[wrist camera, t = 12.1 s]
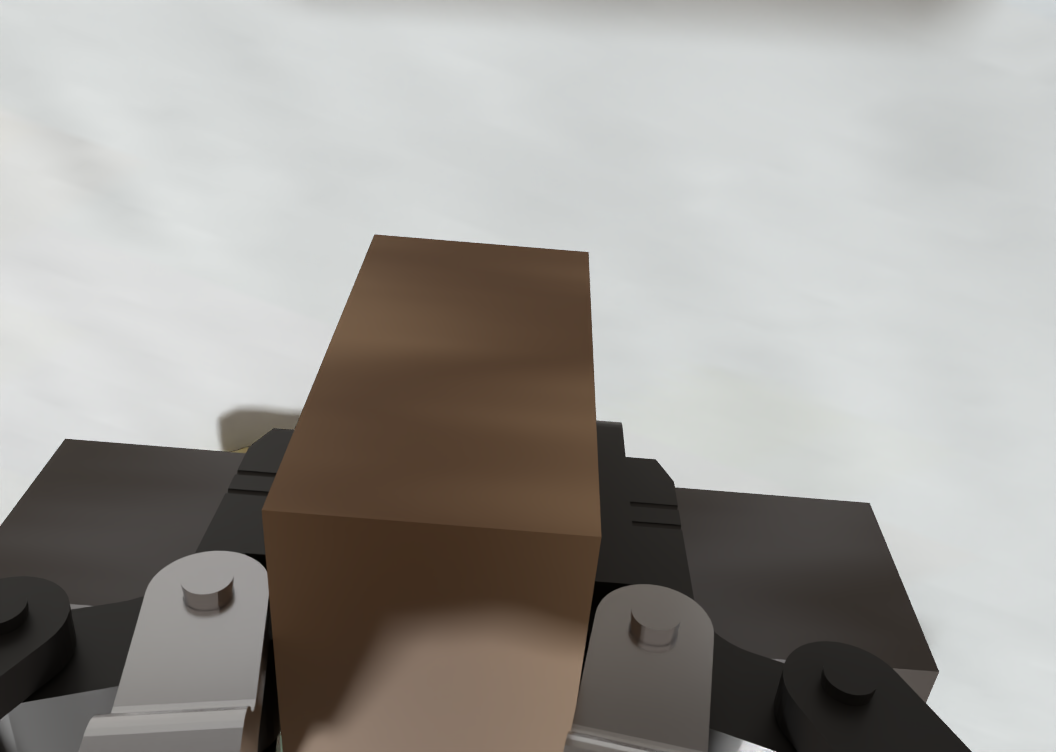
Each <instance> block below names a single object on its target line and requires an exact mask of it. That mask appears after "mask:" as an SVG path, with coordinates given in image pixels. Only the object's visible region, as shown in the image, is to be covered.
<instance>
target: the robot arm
mask: <svg viewBox="0 0 1056 752" xmlns="http://www.w3.org/2000/svg"><path fill="white" fill-rule="evenodd" d="M596 429H597V451H598V473H599V495H600V517H601V543H600V550H599V557H598V563H597V570H596V577H595V583H594V590H593V597H592V603H591V610H590V617H589V623H588V630H587V637H586V644H585V650H584V657H583V664H582V670H581V677H580V684H579V690H578V697H577V704H576V709H575V713H574V718H573V723H572V727H571V731H568V734H567V738H566V742H565V746H564V751H563V752H971V750H970V749H969V748H968V747H967V746H966V745H965V744H964V743H963V742H962V741H961V740H960V739H959V738H958V737H957V736H956V735H955V734H954V733H953V731H952V730H951V729H950V728H949V727H948V726H947V725H946V724H945V723H944V722H943V721H942V720H941V719H940V718H939V717H938V716H937V715H936V714H935V712H934V711H933V710H932V709H931V708H930V707H929V706H928V705H927V704H926V703H925V702H924V701H923V700H922V699H921V698H920V697H919V696H918V695H917V693H916V692H915V691H914V690H913V689H912V688H911V687H910V686H909V685H908V684H907V683H906V682H905V681H904V680H903V679H902V678H901V677H900V676H899V674H898V673H897V672H896V671H895V670H893V669H892V668H891V667H890V666H889V665H888V664H887V663H885V662H884V661H883V660H881V659H880V658H878V657H877V656H875V655H873V654H871V653H870V652H867V651H865V650H863V649H861V648H858V647H855V646H852V645H849V644H845V643H840V642H831V641H818V642H812V643H808V644H805V645H802V646H800V647H798V648H797V649H795V650H794V651H793V652H792V653H791V654H790V655H789V656H788V657H787V659H786V661H785V663H782V662H779V661H776V660H773V659H770V658H767V657H764V656H761V655H758V654H755V653H752V652H749V651H746V650H744V649H741V648H739V647H737V646H735V645H733V644H731V643H729V642H728V641H726V640H725V639H723V638H722V637H720V636H719V635H718V634H717V633H715V632H714V628H713V625H712V622H711V620H710V618H709V616H708V615H707V613H706V612H705V611H704V610H703V608H702V607H701V606H700V605H698V604H697V603H696V602H695V601H694V596H693V590H692V584H691V578H690V573H689V567H688V561H687V555H686V549H685V544H684V538H683V532H682V530H681V521H680V515H679V510H678V503H677V497H676V492H675V486H674V481H673V480H672V479H671V478H670V476H669V475H668V474H667V473H666V471H665V470H664V469H663V468H662V467H661V465H660V464H659V463H658V462H657V461H656V459H644V458H632V457H625V447H624V438H623V428H622V423H620V422H608V421H596ZM293 432H294V430H288V429H275V428H274V429H272V430H271V431H270V432H268V433H267V434H266V435H264V436H263V437H262V438H260V439H259V440H258V441H256V442H255V443H254V444H252V445H251V446H250V447H249V448H248V450H247V452H246V454H245V456H244V458H243V460H242V462H241V464H240V466H239V468H238V470H237V474H235V475H234V477H233V479H232V481H231V483H230V485H229V487H228V493H225V495H224V497H223V499H222V501H221V503H220V505H219V507H218V509H217V511H216V513H215V515H214V517H213V519H212V521H211V523H210V525H209V527H208V529H207V530H206V532H205V534H204V536H203V538H202V540H201V542H200V544H199V546H198V548H197V550H196V552H195V554H192V555H189V556H186V557H183V558H181V559H178V560H176V561H174V562H173V563H171V564H169V565H167V566H166V567H165V568H163V569H162V570H161V571H159V572H158V573H157V574H156V575H155V576H154V577H153V579H152V580H151V582H150V583H149V585H148V587H147V590H146V592H145V596H142V597H139V598H135V599H132V600H128V601H122V602H117V603H111V604H104V605H97V606H90V607H84V608H77V609H71V607H70V602H69V598H68V596H67V594H66V592H65V591H64V590H63V589H62V588H61V587H60V586H59V585H57V584H55V583H54V582H52V581H49V580H46V579H43V578H38V577H29V576H17V577H7V578H1V579H0V752H280V751H281V747H280V731H281V726H280V715H279V703H278V692H277V681H276V669H275V658H274V646H273V635H272V623H271V612H270V601H269V589H268V578H267V566H266V555H265V544H264V532H263V521H262V508H263V505H264V503H265V501H266V498H267V496H268V493H269V491H270V488H271V486H272V483H273V481H274V479H275V476H276V474H277V471H278V469H279V466H280V464H281V461H282V459H283V457H284V454H285V452H286V449H287V447H288V444H289V442H290V440H291V437H292V435H293Z"/></svg>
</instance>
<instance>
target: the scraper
mask: <svg viewBox="0 0 1056 752" xmlns="http://www.w3.org/2000/svg"><path fill="white" fill-rule="evenodd" d="M245 454H246V453H236V452H223V451H211V450H198V449H186V448H173V447H161V446H148V445H136V444H123V443H111V442H98V441H86V440H73V439H65V440H64V441H63V443H62V444H61V445H60V447H59V448H58V449H57V451H56V452H55V453H54V455H53V456H52V457H51V459H50V460H49V461H48V463H47V464H46V465H45V467H44V468H43V469H42V471H41V472H40V474H39V475H38V476H37V478H36V479H35V480H34V482H33V483H32V484H31V486H30V487H29V488H28V490H27V491H26V492H25V494H24V495H23V496H22V498H21V499H20V500H19V502H18V503H17V504H16V506H15V507H14V508H13V510H12V511H11V512H10V514H9V515H8V516H7V518H6V519H5V520H4V522H3V523H2V524H1V526H0V579H1V578H7V577H17V576H29V577H38V578H43V579H46V580H49V581H52V582H54V583H55V584H57V585H59V586H60V587H61V588H62V589H63V590H64V591H65V592H66V594H67V596H68V598H69V602H70V607H71V609H77V608H84V607H90V606H97V605H104V604H111V603H117V602H122V601H128V600H132V599H135V598H139V597H142V596H145V592H146V590H147V587H148V585H149V583H150V582H151V580H152V579H153V577H154V576H155V575H156V574H157V573H158V572H159V571H161V570H162V569H163V568H165V567H166V566H167V565H169V564H171V563H173V562H174V561H176V560H178V559H181V558H183V557H186V556H189V555H192V554H195V552H196V550H197V548H198V546H199V544H200V542H201V540H202V538H203V536H204V534H205V532H206V530H207V529H208V527H209V525H210V523H211V521H212V519H213V517H214V515H215V513H216V511H217V509H218V507H219V505H220V503H221V501H222V499H223V497H224V495H225V493H228V487H229V485H230V483H231V481H232V479H233V477H234V475H235V474H237V470H238V468H239V466H240V464H241V462H242V460H243V458H244V456H245ZM675 492H676V497H677V503H678V510H679V515H680V521H681V530H682V532H683V538H684V544H685V549H686V555H687V561H688V567H689V573H690V578H691V584H692V590H693V596H694V601H695V602H696V603H697V604H698V605H700V606H701V607H702V608H703V610H704V611H705V612H706V613H707V615H708V616H709V618H710V620H711V622H712V625H713V628H714V632H715V633H717V634H718V635H719V636H720V637H722V638H723V639H725V640H726V641H728V642H729V643H731V644H733V645H735V646H737V647H739V648H741V649H744V650H746V651H749V652H752V653H755V654H758V655H761V656H764V657H767V658H770V659H773V660H776V661H779V662H782V663H785V661H786V659H787V657H788V656H789V655H790V654H791V653H792V652H793V651H794V650H795V649H797V648H798V647H800V646H802V645H805V644H808V643H812V642H818V641H831V642H840V643H845V644H849V645H852V646H855V647H858V648H861V649H863V650H865V651H867V652H870V653H871V654H873V655H875V656H877V657H878V658H880V659H881V660H883V661H884V662H885V663H887V664H888V665H889V666H890V667H891V668H892V669H893V670H895V671H896V672H897V673H898V674H899V676H900V677H901V678H902V679H903V680H904V681H905V682H906V683H907V684H908V685H909V686H910V687H911V688H912V689H913V690H914V691H915V692H916V693H917V695H918V696H919V697H920V698H921V699H922V700H923V701H924V702H925V703H926V701H927V699H928V697H929V694H930V692H931V689H932V687H933V685H934V682H935V680H936V678H937V675H938V673H939V670H938V668H937V666H936V663H935V661H934V658H933V656H932V653H931V651H930V649H929V646H928V644H927V641H926V639H925V636H924V634H923V632H922V629H921V627H920V624H919V622H918V619H917V617H916V615H915V612H914V610H913V607H912V605H911V602H910V600H909V598H908V595H907V593H906V590H905V588H904V585H903V583H902V581H901V578H900V576H899V573H898V571H897V568H896V566H895V564H894V561H893V559H892V556H891V554H890V551H889V549H888V547H887V544H886V542H885V539H884V537H883V534H882V532H881V530H880V527H879V525H878V522H877V520H876V517H875V515H874V513H873V510H872V508H871V505H870V503H863V502H850V501H838V500H825V499H813V498H800V497H788V496H775V495H762V494H750V493H737V492H725V491H712V490H700V489H687V488H675ZM262 521H263V532H264V544H265V555H266V566H267V578H268V589H269V601H270V612H271V623H272V635H273V646H274V658H275V669H276V681H277V692H278V703H279V715H280V726H281V738H282V749H283V752H563V751H564V746H565V742H566V738H567V734H568V731H571V727H572V723H573V718H574V713H575V709H576V704H577V697H578V690H579V684H580V677H581V670H582V664H583V657H584V650H585V644H586V637H587V630H588V623H589V617H590V610H591V603H592V597H593V590H594V583H595V577H596V570H597V563H598V557H599V550H600V543H601V517H600V495H599V473H598V451H597V429H596V407H595V386H594V364H593V342H592V320H591V298H590V276H589V254H588V252H580V251H568V250H555V249H543V248H531V247H519V246H507V245H495V244H483V243H471V242H458V241H446V240H434V239H422V238H410V237H398V236H386V235H374V237H373V239H372V242H371V244H370V247H369V249H368V252H367V254H366V257H365V259H364V261H363V264H362V266H361V269H360V271H359V274H358V276H357V278H356V281H355V283H354V286H353V288H352V291H351V293H350V296H349V298H348V300H347V303H346V305H345V308H344V310H343V313H342V315H341V318H340V320H339V322H338V325H337V327H336V330H335V332H334V335H333V337H332V339H331V342H330V344H329V347H328V349H327V352H326V354H325V357H324V359H323V361H322V364H321V366H320V369H319V371H318V374H317V376H316V379H315V381H314V383H313V386H312V388H311V391H310V393H309V396H308V398H307V400H306V403H305V405H304V408H303V410H302V413H301V415H300V418H299V420H298V422H297V425H296V427H295V430H294V432H293V435H292V437H291V440H290V442H289V444H288V447H287V449H286V452H285V454H284V457H283V459H282V461H281V464H280V466H279V469H278V471H277V474H276V476H275V479H274V481H273V483H272V486H271V488H270V491H269V493H268V496H267V498H266V501H265V503H264V505H263V508H262Z"/></svg>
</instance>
